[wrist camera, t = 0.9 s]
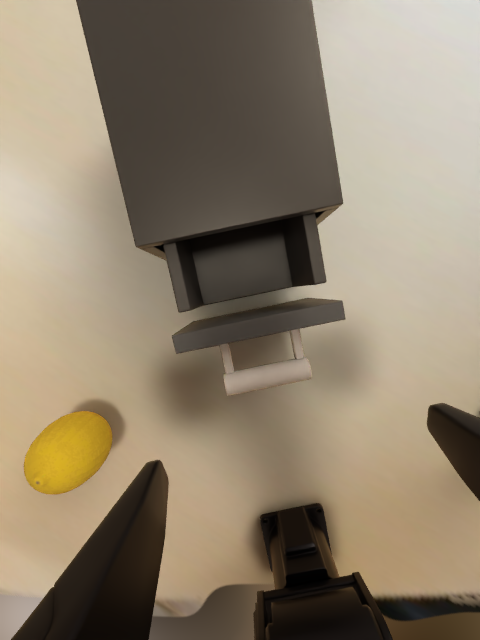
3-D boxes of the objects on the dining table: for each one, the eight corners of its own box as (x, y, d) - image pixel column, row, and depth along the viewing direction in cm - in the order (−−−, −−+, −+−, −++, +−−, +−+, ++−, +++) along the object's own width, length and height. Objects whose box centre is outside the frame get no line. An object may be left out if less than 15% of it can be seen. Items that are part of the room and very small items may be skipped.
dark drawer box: (302, 237, 25) (343, 203, 15) (174, 264, 25) (135, 247, 15) (274, 81, 23) (301, -68, 14) (139, 110, 23) (71, -18, 14)
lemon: (58, 426, 26) (-20, 485, 18) (94, 386, 26) (30, 428, 18) (101, 461, 27) (44, 534, 19) (137, 423, 26) (94, 480, 18)
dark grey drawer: (318, 352, 25) (355, 379, 17) (204, 375, 25) (189, 413, 17) (286, 170, 23) (311, 108, 15) (163, 196, 23) (127, 147, 15)
